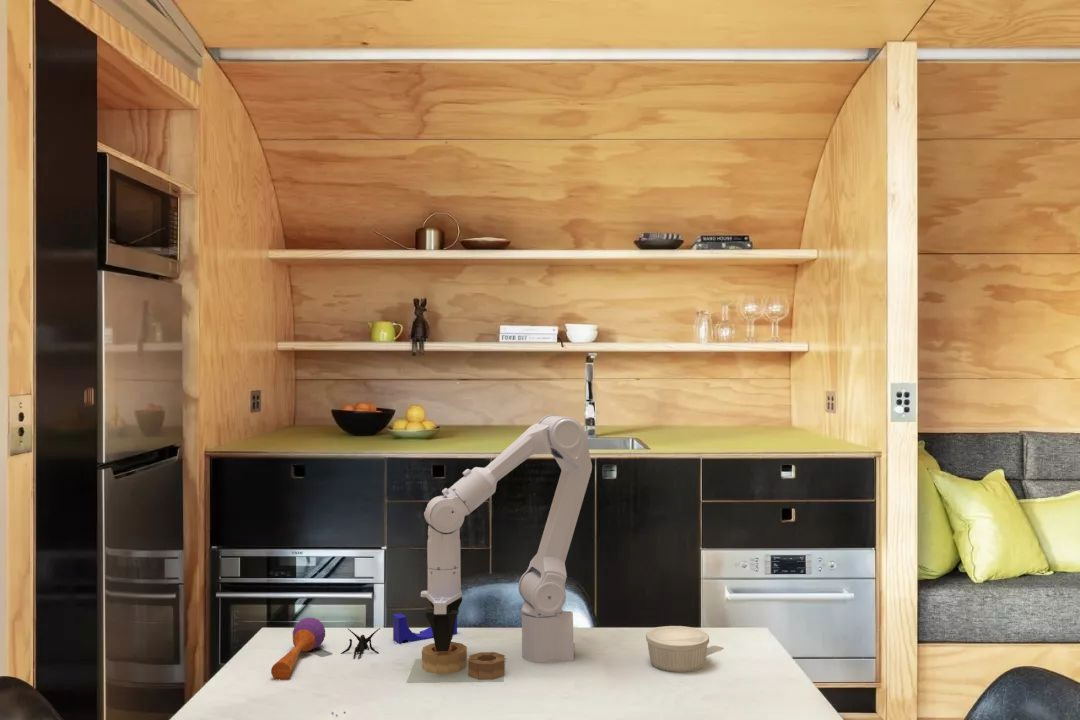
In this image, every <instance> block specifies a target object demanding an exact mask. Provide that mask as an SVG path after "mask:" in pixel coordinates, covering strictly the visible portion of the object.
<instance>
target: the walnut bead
mask: <svg viewBox="0 0 1080 720" xmlns="http://www.w3.org/2000/svg"><path fill="white" fill-rule="evenodd" d="M505 656H506V655H504V654H501V653H497V652H494V651H491V652H490V651H489V652H488V651H487V652H486V651H484V652H481V651H480V652H477V653H474V654H471V655H469V656H468V658H469V660H468V676H469V677H472V678H475V679H479V680H493V679H496V678H499V677H502V676H504V677H505V673H504V672H505V669H506V661H505V658H506V657H505Z"/></svg>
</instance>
